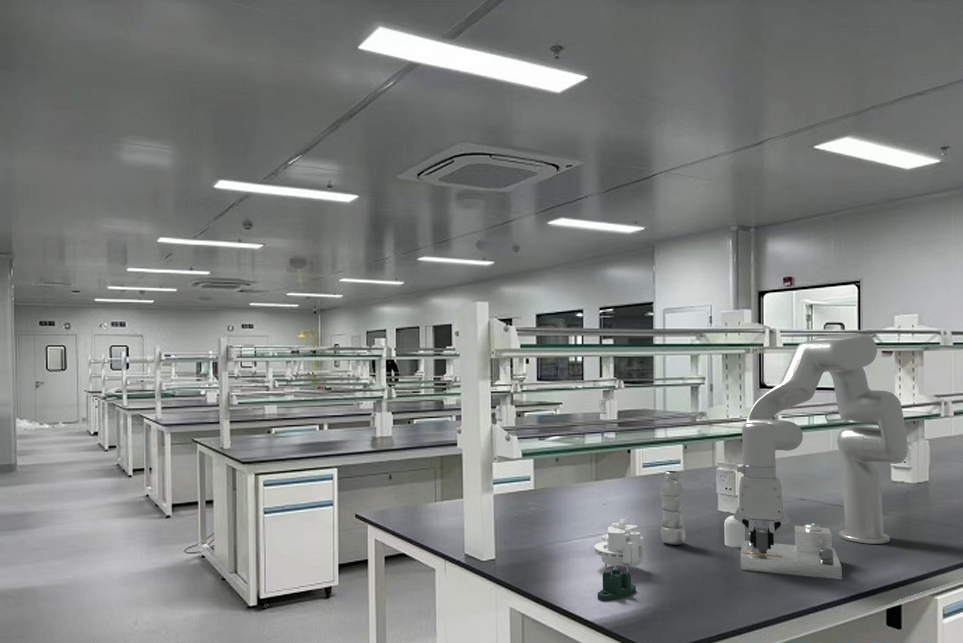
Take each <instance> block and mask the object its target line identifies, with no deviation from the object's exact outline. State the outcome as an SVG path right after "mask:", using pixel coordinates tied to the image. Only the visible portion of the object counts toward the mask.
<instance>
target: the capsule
mask: <svg viewBox="0 0 963 643" xmlns="http://www.w3.org/2000/svg"><path fill="white" fill-rule="evenodd" d="M745 527H746V526H745V525H744V524H743V523H741V522H739V521H737V520H736V519H734V515H729V516H728V517H726V519H725V520H724V525H723V528H724V545H725V546H727V547H730V548H741V545H742V541H746V528H745Z"/></svg>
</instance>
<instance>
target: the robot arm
mask: <svg viewBox="0 0 963 643" xmlns="http://www.w3.org/2000/svg"><path fill="white" fill-rule="evenodd" d="M877 354H878V347H877V343H876V342H875V340H874V339H873V338H872V337H871V336H870V335H867V334H835V335H831V334H830V335H821V336H816V337H814V338H812V339H811V340H806V341H803V342H801V343H799V344H798V345H797V346H796V347H795V350H794V352H793V354H792V356H791V358H790V361H789V363H788V366H787V368H786V370H785V371H784V374H783V377H782V379H781V381H780V383H778V384H777V385H776V386H774V387H772V388H771V389H770V390H768V391H767V392H766V393H765V394H764V395H762V396H761V397H759V399H758V400H757V401H756V402H755V403H754V404H753V405H752V406H751V409H750V411H749V413H748V415H747V417H746V420H745V423H743V425H742V427H741V428H742V430H741V432H742V433H741V434H742V438H741V439H742V462H743V465H741V466H737V473H741V474H742V476H740V479H739V484H738V485H739V487H738V506H737V509H736V511H735V512H734V515H733V516H734V519H736V520H737V521H739V522H741V523H743V524H744V526H745V527H746V528H747V529H748V532H750V543H753V547H754V548H756V526H755V520H756V521H767V522H768V527H767V534H768V549H771V545H774V543H775V542H774V539H775V538H774V537H775V535H774V533H775V532H776V531H777V530H778V529H779V528H780V527H782V526H784V525H787V524H790V519H789V517H788V515H787V513H786V512H785V509H784V503H783V502H784V501H783V500H784V499H783V490H782V486H781V485H782V484H781V480H780V479H779V478H778V477H777V468H776V467H777V466H776V464H777V463H776V451H785V452H788V451H789V452H790V451H793V450H795V449H797V448H798V447H800V446H801V444H802V442H803V437H804V436H803V431H802V429H801V427H800V426H799V425H798V424H796V423H795V422H792V421H788V420H779V419H778V420H777V419H772V418H773V417H775V416H776V415H777V414H778V413H780V412H782V411H784V410H787V409H789V408H792V407H796V406H798V405H800V404H804V403H807V402H809V400H812V398H813V397H814V396H815V392H816V390H817V387H818V386H819V383H820V380H821V378H822V376H823V374H824V373H826V372H828V373H829V374H830V375H831V379H832V381H833V386H834V387H833V388H834V393H835V399H836V405H837V410H838V414H839V417H840V418H841V419H842V420H843V421H844V422H847V423H851V424H862V425H864V424H865V425H874V426H878V427H873V426H871V427H870V426H857V425H856V426H852V425H851V426H848V427H845V428H842V429H841V430H840V431H839V433H838V434H837V435H838V436H837V440H836V441H837V448H838V451H839V456H840V460H841V469H842V487H843V488H842V489H843V511H844V529H841V530H840V531H839V532H838V536H839V537H840V538H842V540H843V539H844V540H847V541H851V542H856V543H860V544H861V543H862V544H869V545H870V544H873V545H876V544H877V545H879V544H882V545H883V544H886V543H889V542H891V538H890V535H888V534H887V533H884V521H883V520H884V519H883V502H882V501H883V497H882V496H883V495H882V478H881V474H880V472H879V470H878V468H877V466H876V465H875V464H874V462H875V463H881V464H893V465H896V464H901V463H903V462H904V461H905V460H906V458H907V457H908V451H909V450H908V449H909V446H908V440H907V432H906V431H907V430H906V425H905V419H904V413H903V412H904V411H903V408H902V403H901V401H900V400H899V397H898V396H897V395H896V394H894V393H892V392H891V391H886V390H876V389H875V390H874V389H873V390H872V389H870V387H869V384H868V379H867V375H866V371H865V370H864V368H865V367H867V366H869V365H871V364H872V363H873V362H874V361H875V359H876V357H877Z"/></svg>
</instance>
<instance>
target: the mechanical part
mask: <svg viewBox="0 0 963 643" xmlns="http://www.w3.org/2000/svg"><path fill="white" fill-rule="evenodd" d="M626 521H627V520H626V519H624V518H623V519H622V518H620V519H619V521H618V522H612V523H611V525H610V526H608V527H607V533H604V534H602V536H601V540H602V541H601V542H598V543H596V544H594V546H593V547H594V548H593V549H594V550H593V551H594V553H595V554H596V555H598V556H600V557H601V562H602V563H604V569H605V570H607V569H608V565H610V566H612V567H613V570H614V569H617V566H618V567H621V566H623V567H624V568H625V572H629V567H630V568H636V567H637V566H639V565H641V564H642V562H643V560H644V557H645V547H644V546H645V543H644V537H643V536H641V533H640V532H639V529H638V528H639V527H638V525H635V524H626V523H627V522H626Z"/></svg>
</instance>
